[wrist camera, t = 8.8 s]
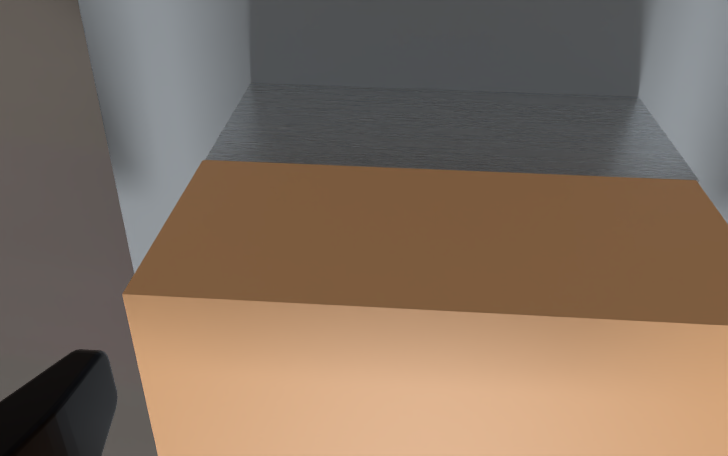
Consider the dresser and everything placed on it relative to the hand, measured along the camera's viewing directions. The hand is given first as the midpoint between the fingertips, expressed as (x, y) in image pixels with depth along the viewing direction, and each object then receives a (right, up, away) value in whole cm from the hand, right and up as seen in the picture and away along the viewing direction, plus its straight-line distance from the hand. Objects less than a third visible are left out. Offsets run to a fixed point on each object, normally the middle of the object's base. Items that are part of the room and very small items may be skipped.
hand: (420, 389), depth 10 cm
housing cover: (0, 0, 0) cm, 0 cm away
